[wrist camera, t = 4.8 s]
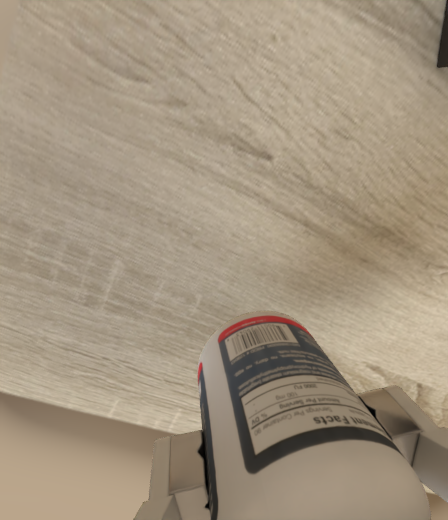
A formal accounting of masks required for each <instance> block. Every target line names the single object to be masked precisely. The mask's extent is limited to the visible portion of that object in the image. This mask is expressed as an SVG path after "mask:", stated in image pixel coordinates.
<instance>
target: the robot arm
mask: <svg viewBox="0 0 448 520" xmlns="http://www.w3.org/2000/svg"><path fill="white" fill-rule="evenodd" d="M356 395H357V396H358V397H359V399H360V400H361V401H362V403H363V404H364V405H365V407H366V408H367V409H368V410H369V412H370V413H371V414H372V416H373V417H374V418H375V420H376V421H377V422H378V423H379V425H380V426H381V427H382V428H383V430H384V431H385V432H386V434H387V435H388V436H389V438H390V439H391V440H392V441H393V443H394V444H395V445H396V447H397V448H398V449H399V451H400V452H401V453H402V455H403V456H404V457H405V459H406V460H407V462H408V463H409V464H410V466H411V467H412V468H413V470H414V471H415V473H416V474H417V476H418V478H419V479H420V481H421V482H422V483H423V484H424V485H425V486H427V487H428V488H429V489H431V490H432V491H433V492H435V493H436V494H437V495H439V496H440V497H441V498H443V499H444V500H445V501H446V502H448V429H447V428H445V427H442V428H439V427H438V426H437V425H436V424H435V422H434V421H433V420H432V419H431V418H430V417H429V416H428V415H427V414H426V413H425V412H424V411H423V410H422V409H421V408H420V407H419V406H418V405H417V404H416V403H415V402H414V401H413V400H412V399H411V398H410V397H409V396H408V395H407V394H406V393H405V392H404V391H403V390H402V389H401V388H400V387H398V386H396V385H393V386H389V387H385V388H379V389H374V390H370V391H366V392H362V393H358V394H356ZM133 520H211V519H210V508H209V496H208V484H207V472H206V463H205V448H204V438H203V431H202V430H198V431H194V432H189V433H184V434H179V435H174V436H169V437H164V438H160V439H156V440H155V443H154V449H153V459H152V470H151V480H150V490H149V501H146V502H143V504H142V505H141V507H140V509H139V511H138V512H137V514H136V516H135V518H134V519H133Z"/></svg>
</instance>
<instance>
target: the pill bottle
mask: <svg viewBox="0 0 448 520" xmlns="http://www.w3.org/2000/svg"><path fill="white" fill-rule="evenodd" d="M198 386H199V397H200V408H201V419H202V430H203V438H204V448H205V463H206V472H207V484H208V496H209V508H210V519H211V520H431V514H430V508H429V502H428V498H427V495H426V492H425V489H424V487H423V485H422V483H421V481H420V479H419V478H418V476H417V474H416V473H415V471H414V470H413V468H412V467H411V466H410V464H409V463H408V462H407V460H406V459H405V457H404V456H403V455H402V453H401V452H400V451H399V449H398V448H397V447H396V445H395V444H394V443H393V441H392V440H391V439H390V438H389V436H388V435H387V434H386V432H385V431H384V430H383V428H382V427H381V426H380V425H379V423H378V422H377V421H376V420H375V418H374V417H373V416H372V414H371V413H370V412H369V410H368V409H367V408H366V407H365V405H364V404H363V403H362V401H361V400H360V399H359V397H358V396H357V395H356V393H355V392H354V391H353V389H352V388H351V387H350V386H349V384H348V383H347V382H346V380H345V379H344V378H343V377H342V375H341V374H340V373H339V371H338V370H337V369H336V367H335V366H334V365H333V363H332V362H331V361H330V360H329V358H328V357H327V356H326V354H325V353H324V352H323V350H322V349H321V348H320V346H319V345H318V344H317V342H316V341H315V339H314V338H313V337H312V336H311V334H310V333H309V332H308V331H307V330H306V328H305V327H304V326H303V325H302V324H301V323H299V322H298V321H297V320H295V319H294V318H292V317H290V316H288V315H285V314H282V313H279V312H273V311H256V312H250V313H246V314H243V315H240V316H238V317H235V318H233V319H231V320H230V321H228V322H226V323H225V324H224V325H222V326H221V327H220V328H219V329H217V330H216V331H215V332H214V333H213V334H212V335H211V337H210V338H209V339H208V341H207V342H206V344H205V346H204V348H203V350H202V352H201V355H200V358H199V362H198Z"/></svg>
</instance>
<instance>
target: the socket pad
mask: <svg viewBox="0 0 448 520" xmlns="http://www.w3.org/2000/svg"><path fill="white" fill-rule="evenodd" d="M437 67H439V68H440V67H448V0H447V5H446V11H445V18H444V25H443V32H442V38H441V45H440V52H439V59H438V65H437Z"/></svg>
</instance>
